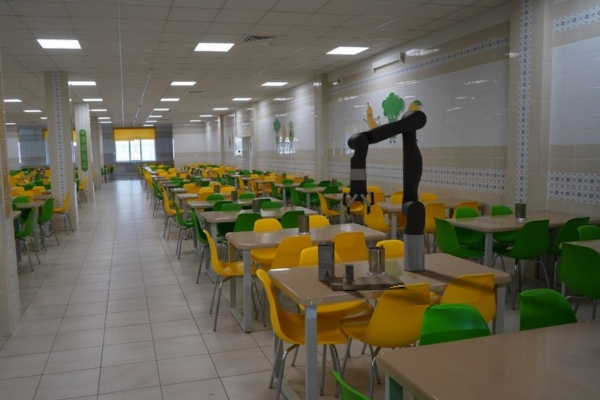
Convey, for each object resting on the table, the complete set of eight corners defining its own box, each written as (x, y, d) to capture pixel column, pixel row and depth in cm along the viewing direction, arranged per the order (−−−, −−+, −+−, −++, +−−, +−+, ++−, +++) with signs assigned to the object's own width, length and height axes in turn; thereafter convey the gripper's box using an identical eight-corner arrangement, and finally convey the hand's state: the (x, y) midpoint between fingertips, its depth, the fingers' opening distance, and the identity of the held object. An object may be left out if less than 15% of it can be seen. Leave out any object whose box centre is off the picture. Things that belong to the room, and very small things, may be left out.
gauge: (351, 282, 225) (351, 259, 225) (356, 289, 212) (356, 265, 211) (339, 282, 225) (339, 259, 224) (343, 290, 212) (343, 265, 211)
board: (396, 280, 230) (396, 275, 230) (404, 288, 216) (404, 283, 216) (328, 282, 228) (328, 277, 228) (332, 290, 214) (331, 285, 214)
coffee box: (321, 275, 240) (320, 241, 239) (335, 276, 239) (334, 241, 238) (318, 280, 232) (317, 244, 230) (332, 281, 230) (332, 244, 229)
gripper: (372, 178, 240) (372, 213, 241) (341, 178, 239) (341, 214, 240) (375, 179, 232) (375, 215, 233) (343, 179, 231) (343, 216, 233)
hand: (358, 214), depth 237 cm, fingers open, 8 cm apart
